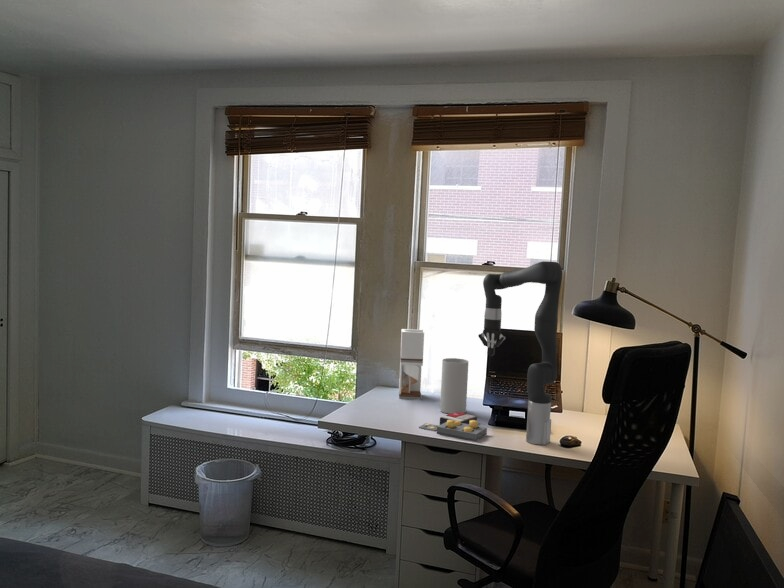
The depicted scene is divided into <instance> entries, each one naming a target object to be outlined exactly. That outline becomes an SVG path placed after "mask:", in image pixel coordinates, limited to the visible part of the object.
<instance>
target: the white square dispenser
mask: <svg viewBox="0 0 784 588" xmlns="http://www.w3.org/2000/svg"><path fill="white" fill-rule="evenodd" d="M400 331H401V334H400V336H401V337H400V357H399V359H400V360H399V362H400V363H399V378H398V379H399V380H398V381H399V382H398V399H399V400H400V399H401V400H419V401H421V400H422V393H421V388H422V387H421V385H422V367H423V365H424V344H425V332H424V329H415V328H414V329H412V328H401V330H400Z"/></svg>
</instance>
